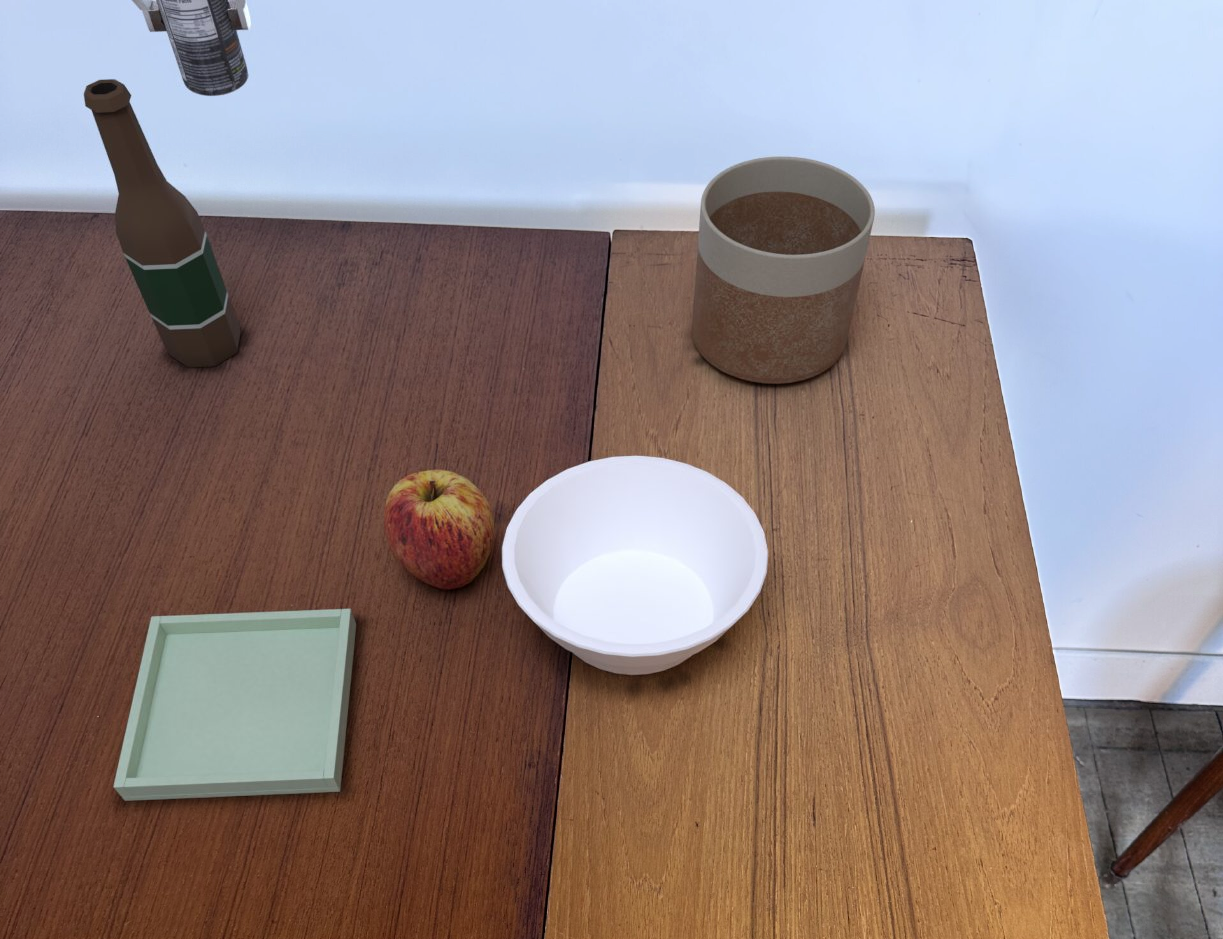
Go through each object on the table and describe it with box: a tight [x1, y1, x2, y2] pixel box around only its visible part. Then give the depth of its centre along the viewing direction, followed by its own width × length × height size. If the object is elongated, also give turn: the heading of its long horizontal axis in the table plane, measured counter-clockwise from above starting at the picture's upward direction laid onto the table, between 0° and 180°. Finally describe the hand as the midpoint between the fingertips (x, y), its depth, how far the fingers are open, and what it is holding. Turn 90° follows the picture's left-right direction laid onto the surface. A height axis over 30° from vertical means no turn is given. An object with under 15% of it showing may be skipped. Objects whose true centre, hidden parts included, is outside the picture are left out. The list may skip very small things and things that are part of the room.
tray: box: [113, 608, 357, 802], centre depth 81 cm, size 17×17×2 cm
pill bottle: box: [155, 0, 249, 97], centre depth 89 cm, size 6×6×11 cm
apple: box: [383, 469, 496, 591], centre depth 85 cm, size 9×9×10 cm
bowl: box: [501, 455, 769, 676], centre depth 83 cm, size 21×21×8 cm
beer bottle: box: [83, 78, 242, 369], centre depth 94 cm, size 8×8×24 cm
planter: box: [691, 156, 876, 385], centre depth 98 cm, size 16×16×14 cm
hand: (200, 28), depth 90 cm, fingers closed on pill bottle, 6 cm apart
